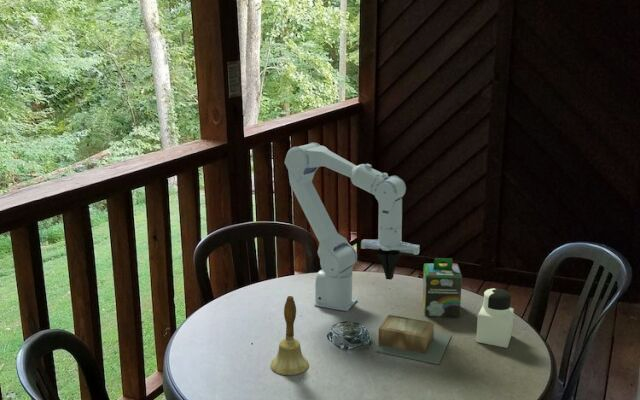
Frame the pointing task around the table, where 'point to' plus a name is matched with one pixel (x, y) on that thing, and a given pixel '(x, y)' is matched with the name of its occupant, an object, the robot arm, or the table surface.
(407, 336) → the tan rectangular block
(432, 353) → the mat
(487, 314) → the medicine bottle
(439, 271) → the chalk box
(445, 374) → the table surface
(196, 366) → the table surface
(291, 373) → the hand bell
